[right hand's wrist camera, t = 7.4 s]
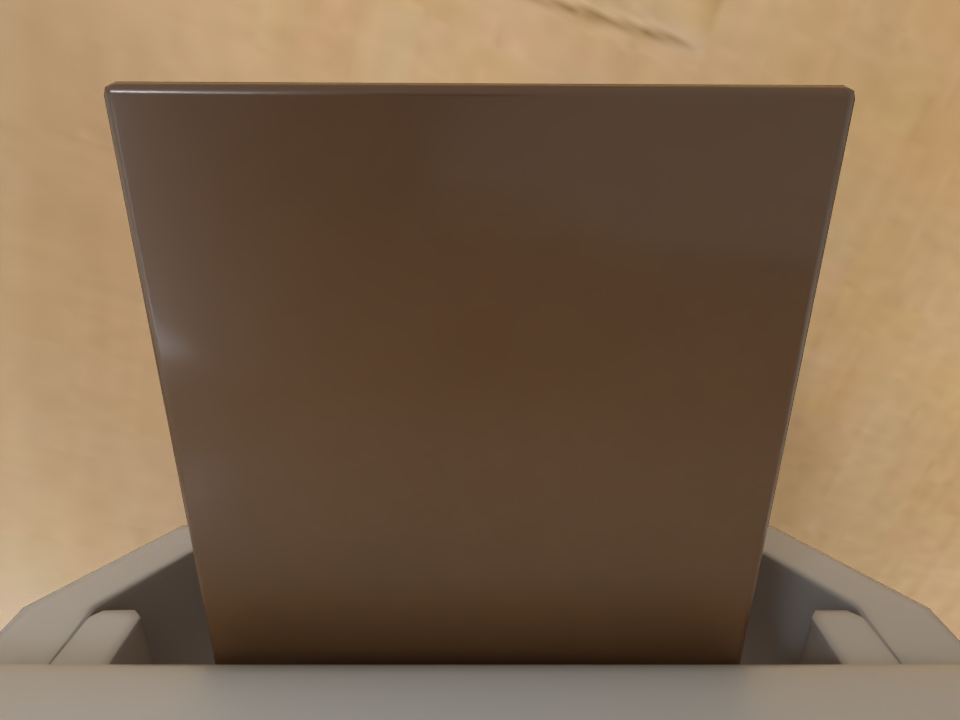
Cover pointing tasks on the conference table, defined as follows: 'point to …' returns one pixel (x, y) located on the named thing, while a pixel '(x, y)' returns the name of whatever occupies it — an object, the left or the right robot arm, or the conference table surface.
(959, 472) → the conference table surface
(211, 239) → the beam
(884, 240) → the conference table surface
